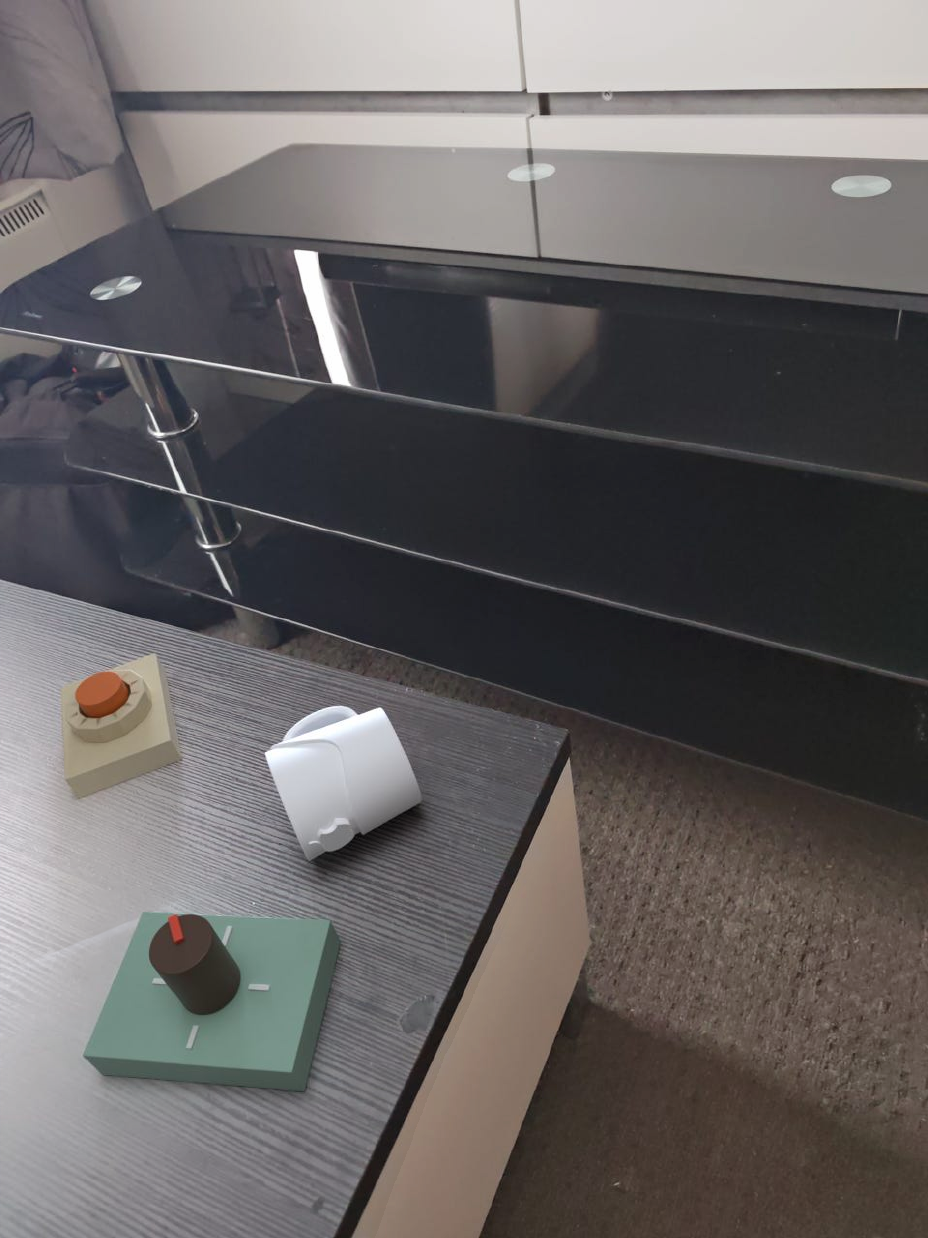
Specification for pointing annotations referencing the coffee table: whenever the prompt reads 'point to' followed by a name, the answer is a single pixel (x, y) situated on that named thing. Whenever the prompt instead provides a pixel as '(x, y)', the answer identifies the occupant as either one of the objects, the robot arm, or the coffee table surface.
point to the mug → (341, 776)
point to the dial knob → (194, 963)
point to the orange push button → (101, 694)
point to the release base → (120, 731)
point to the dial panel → (239, 1032)
